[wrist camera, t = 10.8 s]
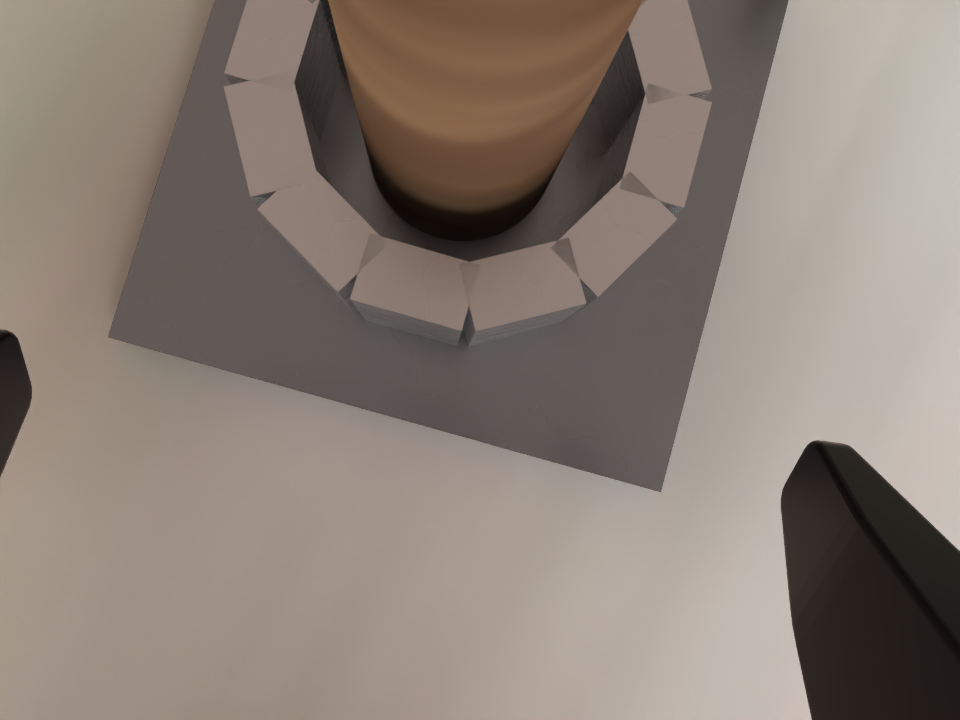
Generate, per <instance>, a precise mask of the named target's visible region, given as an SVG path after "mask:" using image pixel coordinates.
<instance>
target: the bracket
mask: <svg viewBox="0 0 960 720" xmlns="http://www.w3.org/2000/svg"><path fill="white" fill-rule="evenodd" d="M787 4H788V0H643V1H642V3H641V5H640V7H639V9H638V11H637V13H636V15H635V17H634V19H633V21H632V23H631V25H630V27H629V29H628V31H627V32H626V34H625V36H624V38H623V40H622V42H621V44H620V46H619V48H618V50H617V52H616V54H615V56H614V58H613V60H612V62H611V64H610V66H609V68H608V70H607V72H606V73H605V75H604V77H603V79H602V81H601V83H600V85H599V87H598V89H597V91H596V93H595V95H594V97H593V99H592V101H591V103H590V105H589V107H588V109H587V111H586V113H585V115H584V116H583V118H582V120H581V122H580V124H579V126H578V128H577V130H576V132H575V134H574V136H573V138H572V140H571V142H570V144H569V146H568V148H567V150H566V152H565V154H564V156H563V157H562V159H561V161H560V163H559V165H558V167H557V169H556V171H555V173H554V175H553V177H552V179H551V181H550V183H549V185H548V187H547V189H546V191H545V192H544V194H543V196H542V198H541V199H540V201H539V202H538V204H537V205H536V206H535V207H534V209H533V210H532V211H531V212H530V213H529V214H528V215H527V216H526V217H525V218H524V219H523V220H521V221H520V222H519V223H517V224H516V225H515V226H513V227H511V228H510V229H508V230H506V231H504V232H502V233H500V234H497V235H494V236H492V237H488V238H484V239H480V240H471V241H454V240H448V239H442V238H439V237H435V236H432V235H429V234H427V233H425V232H422V231H420V230H418V229H417V228H415V227H413V226H412V225H410V224H408V223H407V222H406V221H405V220H403V219H402V218H401V217H400V216H399V215H398V214H397V213H396V212H395V211H394V210H393V209H392V208H391V207H390V206H389V204H388V203H387V202H386V200H385V199H384V198H383V196H382V194H381V192H380V190H379V189H378V187H377V184H376V182H375V179H374V177H373V173H372V169H371V165H370V162H369V158H368V154H367V150H366V146H365V142H364V138H363V134H362V130H361V127H360V123H359V119H358V115H357V111H356V107H355V103H354V99H353V95H352V92H351V88H350V84H349V80H348V76H347V72H346V68H345V64H344V60H343V57H342V53H341V49H340V45H339V41H338V37H337V33H336V29H335V25H334V22H333V18H332V14H331V10H330V6H329V2H328V0H215V2H214V5H213V9H212V12H211V15H210V18H209V21H208V24H207V27H206V30H205V34H204V37H203V40H202V43H201V46H200V49H199V52H198V56H197V59H196V62H195V65H194V68H193V71H192V74H191V78H190V81H189V84H188V87H187V90H186V93H185V96H184V100H183V103H182V106H181V109H180V112H179V115H178V118H177V122H176V125H175V128H174V131H173V134H172V137H171V140H170V144H169V147H168V150H167V153H166V156H165V159H164V162H163V166H162V169H161V172H160V175H159V178H158V181H157V184H156V188H155V191H154V194H153V197H152V200H151V203H150V206H149V210H148V213H147V216H146V219H145V222H144V225H143V228H142V232H141V235H140V238H139V241H138V244H137V247H136V250H135V254H134V257H133V260H132V263H131V266H130V269H129V272H128V276H127V279H126V282H125V285H124V288H123V291H122V294H121V297H120V301H119V304H118V307H117V310H116V313H115V316H114V319H113V323H112V326H111V329H110V332H109V335H108V337H109V338H113V339H117V340H120V341H124V342H127V343H131V344H134V345H138V346H141V347H145V348H149V349H152V350H156V351H159V352H163V353H166V354H170V355H174V356H177V357H181V358H184V359H188V360H191V361H195V362H199V363H202V364H206V365H209V366H213V367H216V368H220V369H224V370H227V371H231V372H234V373H238V374H241V375H245V376H249V377H252V378H256V379H259V380H263V381H266V382H270V383H273V384H277V385H281V386H284V387H288V388H291V389H295V390H298V391H302V392H306V393H309V394H313V395H316V396H320V397H323V398H327V399H331V400H334V401H338V402H341V403H345V404H348V405H352V406H356V407H359V408H363V409H366V410H370V411H373V412H377V413H381V414H384V415H388V416H391V417H395V418H398V419H402V420H405V421H409V422H413V423H416V424H420V425H423V426H427V427H430V428H434V429H438V430H441V431H445V432H448V433H452V434H455V435H459V436H463V437H466V438H470V439H473V440H477V441H480V442H484V443H488V444H491V445H495V446H498V447H502V448H505V449H509V450H513V451H516V452H520V453H523V454H527V455H530V456H534V457H537V458H541V459H545V460H548V461H552V462H555V463H559V464H562V465H566V466H570V467H573V468H577V469H580V470H584V471H587V472H591V473H595V474H598V475H602V476H605V477H609V478H612V479H616V480H620V481H623V482H627V483H630V484H634V485H637V486H641V487H645V488H648V489H652V490H655V491H659V492H661V489H662V485H663V481H664V478H665V474H666V470H667V466H668V462H669V458H670V454H671V451H672V447H673V443H674V439H675V435H676V431H677V428H678V424H679V420H680V416H681V412H682V408H683V404H684V401H685V397H686V393H687V389H688V385H689V381H690V377H691V374H692V370H693V366H694V362H695V358H696V354H697V351H698V347H699V343H700V339H701V335H702V331H703V327H704V324H705V320H706V316H707V312H708V308H709V304H710V300H711V297H712V293H713V289H714V285H715V281H716V277H717V274H718V270H719V266H720V262H721V258H722V254H723V250H724V247H725V243H726V239H727V235H728V231H729V227H730V223H731V220H732V216H733V212H734V208H735V204H736V200H737V197H738V193H739V189H740V185H741V181H742V177H743V173H744V170H745V166H746V162H747V158H748V154H749V150H750V146H751V143H752V139H753V135H754V131H755V127H756V123H757V119H758V116H759V112H760V108H761V104H762V100H763V96H764V93H765V89H766V85H767V81H768V77H769V73H770V69H771V66H772V62H773V58H774V54H775V50H776V46H777V42H778V39H779V35H780V31H781V27H782V23H783V19H784V16H785V12H786V8H787Z"/></svg>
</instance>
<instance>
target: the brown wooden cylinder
mask: <svg viewBox="0 0 960 720" xmlns="http://www.w3.org/2000/svg"><path fill="white" fill-rule="evenodd" d="M642 1H643V0H328V2H329V6H330V10H331V14H332V18H333V22H334V25H335V29H336V33H337V37H338V41H339V45H340V49H341V53H342V57H343V60H344V64H345V68H346V72H347V76H348V80H349V84H350V88H351V92H352V95H353V99H354V103H355V107H356V111H357V115H358V119H359V123H360V127H361V130H362V134H363V138H364V142H365V146H366V150H367V154H368V158H369V162H370V165H371V169H372V173H373V177H374V179H375V182H376V184H377V187H378V189H379V190H380V192H381V194H382V196H383V198H384V199H385V200H386V202H387V203H388V204H389V206H390V207H391V208H392V209H393V210H394V211H395V212H396V213H397V214H398V215H399V216H400V217H401V218H402V219H403V220H405V221H406V222H407V223H408V224H410V225H412V226H413V227H415V228H417V229H418V230H420V231H422V232H425V233H427V234H429V235H432V236H435V237H439V238H442V239H448V240H454V241H471V240H480V239H484V238H488V237H492V236H494V235H497V234H500V233H502V232H504V231H506V230H508V229H510V228H511V227H513V226H515V225H516V224H517V223H519V222H520V221H521V220H523V219H524V218H525V217H526V216H527V215H528V214H529V213H530V212H531V211H532V210H533V209H534V207H535V206H536V205H537V204H538V202H539V201H540V199H541V198H542V196H543V194H544V192H545V191H546V189H547V187H548V185H549V183H550V181H551V179H552V177H553V175H554V173H555V171H556V169H557V167H558V165H559V163H560V161H561V159H562V157H563V156H564V154H565V152H566V150H567V148H568V146H569V144H570V142H571V140H572V138H573V136H574V134H575V132H576V130H577V128H578V126H579V124H580V122H581V120H582V118H583V116H584V115H585V113H586V111H587V109H588V107H589V105H590V103H591V101H592V99H593V97H594V95H595V93H596V91H597V89H598V87H599V85H600V83H601V81H602V79H603V77H604V75H605V73H606V72H607V70H608V68H609V66H610V64H611V62H612V60H613V58H614V56H615V54H616V52H617V50H618V48H619V46H620V44H621V42H622V40H623V38H624V36H625V34H626V32H627V31H628V29H629V27H630V25H631V23H632V21H633V19H634V17H635V15H636V13H637V11H638V9H639V7H640V5H641V3H642Z"/></svg>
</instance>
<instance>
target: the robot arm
mask: <svg viewBox="0 0 960 720" xmlns="http://www.w3.org/2000/svg"><path fill="white" fill-rule="evenodd" d="M31 399H32V386H31V381H30V378H29V375H28V371H27V368H26V364H25V361H24V357H23V354H22V351H21V347H20V344H19V341H18V339H17V337H16V336H15V335H14V334H13V333H12V332H9V331H7V330H1V329H0V477H1V474H2V472H3V470H4V467H5V465H6V462H7V460H8V458H9V455H10V453H11V450H12V448H13V446H14V443H15V441H16V438H17V436H18V434H19V431H20V429H21V426H22V424H23V422H24V419H25V417H26V414H27V412H28V409H29V407H30V403H31ZM781 513H782V524H783V535H784V545H785V556H786V567H787V578H788V589H789V600H790V609H791V617H792V625H793V631H794V636H795V641H796V647H797V651H798V656H799V661H800V665H801V670H802V675H803V680H804V684H805V689H806V694H807V699H808V703H809V708H810V713H811V718H812V720H960V551H959V550H958V549H957V548H956V547H955V546H954V545H953V544H952V543H951V542H950V541H949V540H948V539H946V538H945V537H944V536H943V535H942V534H941V533H940V532H939V531H938V530H937V529H936V528H935V527H934V526H933V525H932V524H931V523H930V522H929V521H928V520H927V519H926V518H925V517H924V516H923V515H922V514H921V513H919V512H918V511H917V510H916V509H915V508H914V507H913V506H912V505H911V504H910V503H909V502H908V501H907V500H906V499H905V498H904V497H903V496H902V495H901V494H900V493H899V492H898V491H897V490H896V489H895V488H894V487H892V486H891V485H890V484H889V483H888V482H887V481H886V480H885V479H884V478H883V477H882V476H881V475H880V474H879V473H878V472H877V471H876V470H875V469H874V468H873V467H872V466H871V465H870V464H869V463H868V462H867V461H865V460H864V459H863V458H862V457H861V456H860V455H859V454H858V453H857V452H856V451H855V450H854V449H853V448H852V447H850V446H848V445H846V444H842V443H835V442H828V441H820V440H817V441H812V442H811V443H809V444H808V445H807V447H806V448H805V449H804V451H803V453H802V455H801V456H800V458H799V460H798V462H797V464H796V465H795V467H794V469H793V471H792V473H791V474H790V476H789V478H788V480H787V481H786V483H785V485H784V488H783V491H782V496H781Z"/></svg>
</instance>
